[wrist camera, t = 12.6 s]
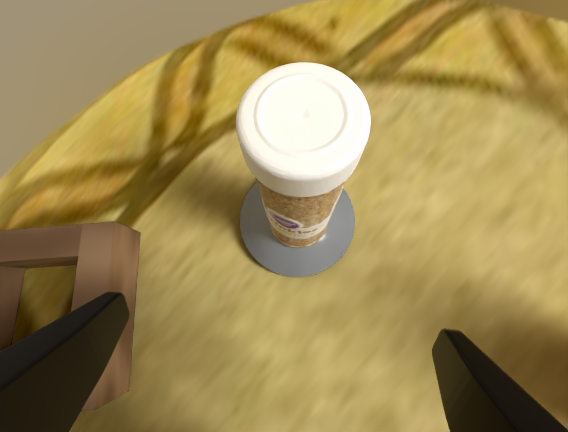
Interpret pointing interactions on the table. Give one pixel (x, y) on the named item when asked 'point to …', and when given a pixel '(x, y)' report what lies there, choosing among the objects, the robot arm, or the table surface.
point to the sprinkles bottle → (302, 145)
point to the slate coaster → (289, 258)
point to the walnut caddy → (76, 282)
